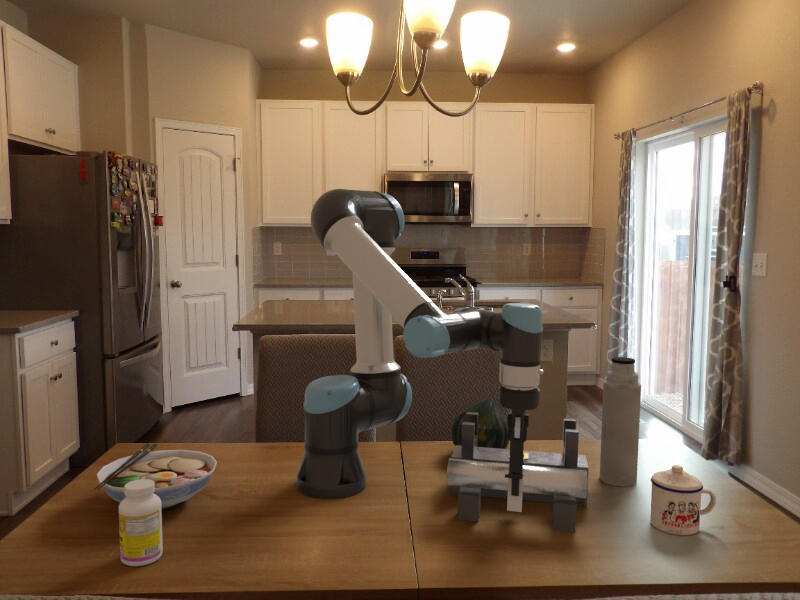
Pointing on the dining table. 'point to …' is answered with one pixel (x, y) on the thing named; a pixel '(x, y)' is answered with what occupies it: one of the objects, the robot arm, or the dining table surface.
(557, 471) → the tube
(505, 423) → the squash
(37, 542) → the dining table surface
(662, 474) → the teacup with lid
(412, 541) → the dining table surface
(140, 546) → the supplement bottle
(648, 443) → the dining table surface
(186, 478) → the ramen bowl
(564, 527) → the posts
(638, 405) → the thermos bottle
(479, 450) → the grey cradle stand
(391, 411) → the robot arm
